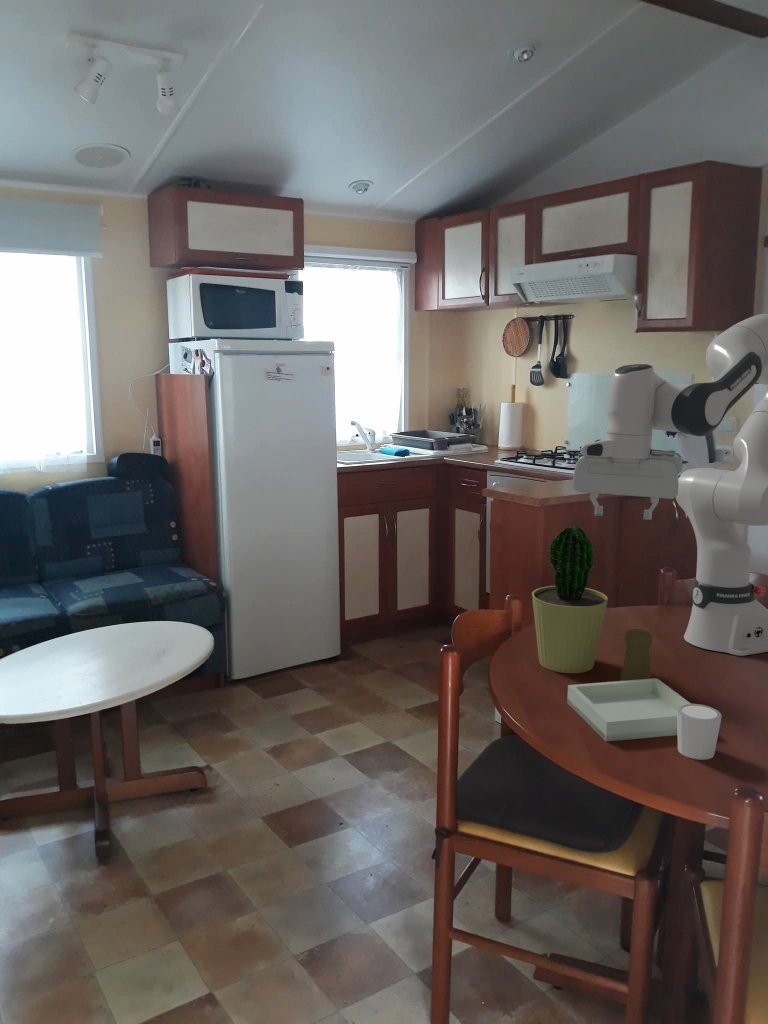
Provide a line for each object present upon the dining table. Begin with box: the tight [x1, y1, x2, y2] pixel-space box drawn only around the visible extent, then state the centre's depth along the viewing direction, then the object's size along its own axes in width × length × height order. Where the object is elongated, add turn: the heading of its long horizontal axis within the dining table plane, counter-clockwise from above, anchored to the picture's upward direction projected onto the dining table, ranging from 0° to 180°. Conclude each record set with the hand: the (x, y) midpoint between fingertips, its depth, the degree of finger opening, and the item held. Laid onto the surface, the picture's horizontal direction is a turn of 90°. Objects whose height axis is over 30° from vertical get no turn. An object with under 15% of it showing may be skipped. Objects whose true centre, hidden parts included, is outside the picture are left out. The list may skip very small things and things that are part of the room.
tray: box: [566, 677, 692, 743], centre depth 149 cm, size 18×16×4 cm
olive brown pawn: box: [619, 628, 653, 681], centre depth 164 cm, size 6×6×11 cm
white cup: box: [676, 703, 722, 761], centre depth 136 cm, size 7×7×7 cm
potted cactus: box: [531, 524, 609, 674], centre depth 173 cm, size 15×15×30 cm
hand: (622, 517), depth 166 cm, fingers open, 8 cm apart
